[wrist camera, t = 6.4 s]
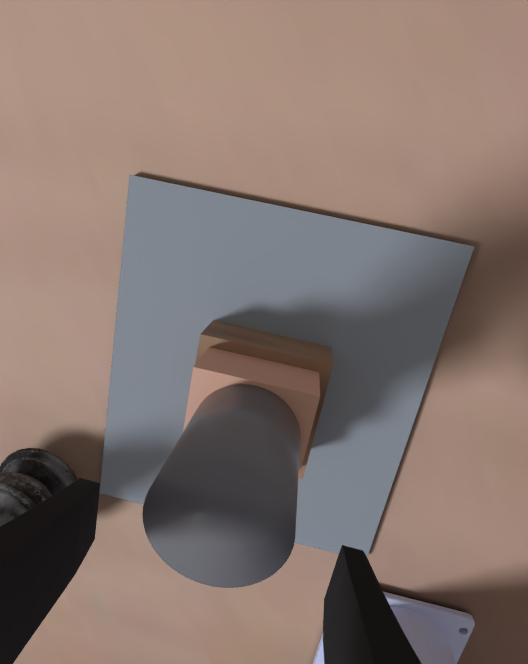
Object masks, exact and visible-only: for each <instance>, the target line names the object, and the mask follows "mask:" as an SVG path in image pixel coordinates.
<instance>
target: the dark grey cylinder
mask: <svg viewBox="0 0 528 664" xmlns="http://www.w3.org/2000/svg"><path fill="white" fill-rule="evenodd" d="M300 438H301V436H300V428H299V424H298V421H297V418H296V416H295V414H294V413H293V411H292V410H291V408H290V407H289V406H288V404H287V403H286V402H285V401H284V400H283V399H281V398H280V397H279V396H278V395H276V394H274V393H273V392H271V391H269V390H267V389H265V388H262V387H259V386H255V385H249V384H235V385H229V386H226V387H223V388H220V389H218V390H216V391H214V392H213V393H211V394H209V395H208V396H207V397H206V398H205V399H204V400H203V401H202V402H201V403H200V405H199V406H198V408H197V410H196V411H195V413H194V415H193V416H192V418H191V420H190V421H189V423H188V425H187V426H186V428H185V430H184V431H183V433H182V435H181V436H180V438H179V440H178V441H177V443H176V445H175V447H174V448H173V450H172V452H171V453H170V455H169V457H168V458H167V460H166V462H165V463H164V465H163V467H162V468H161V470H160V472H159V473H158V475H157V477H156V478H155V480H154V482H153V483H152V485H151V487H150V488H149V490H148V492H147V495H146V497H145V501H144V505H143V523H144V528H145V532H146V534H147V537H148V539H149V541H150V543H151V545H152V547H153V548H154V550H155V551H156V553H157V554H158V555H159V556H160V557H161V559H162V560H163V561H164V562H165V563H167V564H168V565H169V566H170V567H171V568H172V569H174V570H175V571H177V572H178V573H180V574H181V575H183V576H185V577H187V578H189V579H191V580H193V581H196V582H199V583H202V584H205V585H209V586H214V587H223V588H235V587H243V586H248V585H252V584H255V583H258V582H260V581H262V580H265V579H267V578H268V577H270V576H271V575H273V574H274V573H275V572H277V571H278V570H279V569H280V568H281V567H282V566H283V564H284V563H285V562H286V561H287V559H288V557H289V556H290V554H291V551H292V549H293V546H294V541H295V533H296V514H297V495H298V476H299V457H300Z"/></svg>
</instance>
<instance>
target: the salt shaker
mask: <svg viewBox="0 0 528 664" xmlns="http://www.w3.org/2000/svg"><path fill="white" fill-rule="evenodd" d="M75 481H77V479H76V476H75V474H74V473H73V472H72V470H71V469H70V468H69V466H68V465H66V464H65V463H64V462H63V461H62V460H61V459H60V458H58V457H56V456H54V455H53V454H51V453H49V452H45V451H42V450H39V449H23V450H18V451H16V452H14V453H12V454H10V455H9V456H8V457H7V458H6V459H5V460H4V461H3V462H2V464H1V466H0V526H2V525H4V524H6V523H7V522H9V521H11V520H12V519H14V518H16V517H17V516H19V515H21V514H23V513H24V512H26V511H28V510H29V509H31V508H33V507H34V506H36V505H38V504H39V503H41V502H43V501H44V500H46V499H47V498H49V497H51V496H52V495H54V494H55V493H57V492H59V491H60V490H62V489H64V488H65V487H67V486H68V485H70V484H72V483H73V482H75Z"/></svg>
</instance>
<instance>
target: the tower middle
mask: <svg viewBox="0 0 528 664" xmlns="http://www.w3.org/2000/svg"><path fill="white" fill-rule="evenodd" d="M235 384H249V385H255V386H259V387H262V388H265V389H267V390H269V391H271V392H273V393H274V394H276V395H278V396H279V397H280V398H281V399H283V400H284V401H285V402H286V403H287V404H288V406H289V407H290V408H291V410H292V411H293V413H294V414H295V416H296V418H297V421H298V424H299V428H300V436H301V438H300V457H299V475H300V471H301V468H302V464H303V460H304V456H305V452H306V449H307V445H308V441H309V437H310V433H311V430H312V426H313V422H314V418H315V414H316V411H317V407H318V403H319V399H320V379H319V372H316V371H312V370H307V369H303V368H299V367H294V366H290V365H285V364H281V363H277V362H272V361H268V360H264V359H259V358H255V357H250V356H246V355H242V354H237V353H233V352H229V351H224V350H220V349H215V348H211V347H209V348H208V349H207V350H206V351H205V353H204V354H203V355H202V356H201V358H200V359H199V360H198V361H197V363H196V364H195V365H194V367H193V372H192V378H191V384H190V390H189V397H188V403H187V409H186V416H185V422H184V428H183V431H184V430H185V428H186V426H187V425H188V423H189V421H190V420H191V418H192V416H193V415H194V413H195V411H196V410H197V408H198V406H199V405H200V403H201V402H202V401H203V400H204V399H205V398H206V397H207V396H208V395H209V394H211V393H213V392H214V391H216V390H218V389H220V388H223V387H226V386H229V385H235ZM298 479H299V476H298Z"/></svg>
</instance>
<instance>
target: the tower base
mask: <svg viewBox="0 0 528 664" xmlns="http://www.w3.org/2000/svg"><path fill="white" fill-rule="evenodd" d="M209 347H211V348H215V349H220V350H224V351H229V352H233V353H237V354H242V355H246V356H250V357H255V358H259V359H264V360H268V361H272V362H277V363H281V364H285V365H290V366H294V367H299V368H303V369H307V370H312V371H316V372H319V379H320V399H319V403H318V407H317V411H316V414H315V418H314V422H313V426H312V430H311V433H310V437H309V441H308V445H307V449H306V452H305V456H304V460H303V464H302V468H301V471H300V475H299V479H303V477H304V473H305V469H306V466H307V462H308V458H309V454H310V451H311V447H312V443H313V439H314V436H315V432H316V428H317V424H318V421H319V417H320V413H321V409H322V406H323V402H324V398H325V394H326V391H327V387H328V383H329V380H330V376H331V372H332V368H333V365H334V364H333V357H332V350H331V347H330V346H325V345H321V344H316V343H312V342H308V341H303V340H299V339H294V338H290V337H285V336H281V335H276V334H272V333H268V332H263V331H259V330H254V329H250V328H245V327H241V326H236V325H232V324H228V323H223V322H219V321H214V320H213V321H212V322H211V323H210V324H209V325H208V326H207V327H206V328H205V329H204V331H203V332H202V333H201V334H200V338H199V344H198V350H197V356H196V363H197V361H198V360H199V359H200V358H201V356H202V355H203V354H204V353H205V351H206V350H207V349H208V348H209ZM196 363H195V364H196Z"/></svg>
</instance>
